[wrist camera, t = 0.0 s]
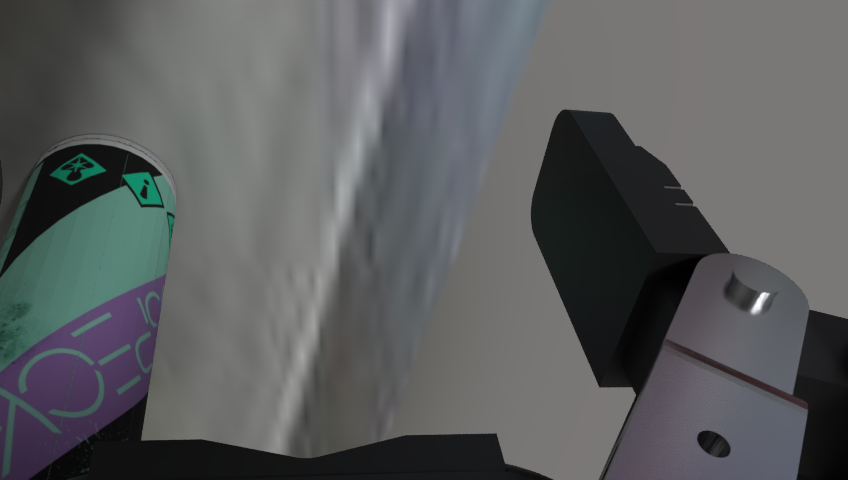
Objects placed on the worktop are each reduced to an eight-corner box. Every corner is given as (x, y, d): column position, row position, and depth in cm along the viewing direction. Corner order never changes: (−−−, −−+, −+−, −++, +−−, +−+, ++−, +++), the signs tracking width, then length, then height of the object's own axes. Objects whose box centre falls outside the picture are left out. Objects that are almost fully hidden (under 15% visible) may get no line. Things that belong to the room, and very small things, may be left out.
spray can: (161, 256, 34) (73, 799, 19) (23, 227, 32) (-198, 807, 17) (191, 155, 31) (115, 702, 16) (41, 116, 29) (-208, 699, 14)
